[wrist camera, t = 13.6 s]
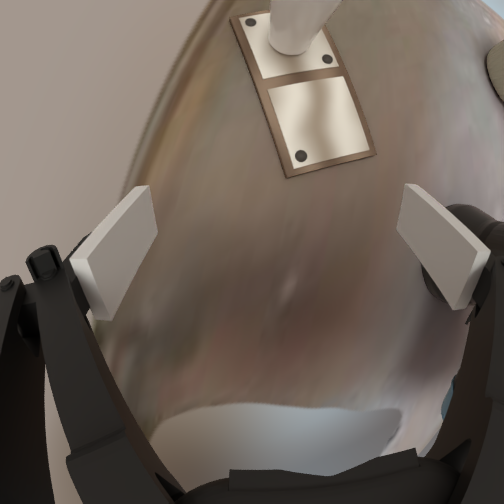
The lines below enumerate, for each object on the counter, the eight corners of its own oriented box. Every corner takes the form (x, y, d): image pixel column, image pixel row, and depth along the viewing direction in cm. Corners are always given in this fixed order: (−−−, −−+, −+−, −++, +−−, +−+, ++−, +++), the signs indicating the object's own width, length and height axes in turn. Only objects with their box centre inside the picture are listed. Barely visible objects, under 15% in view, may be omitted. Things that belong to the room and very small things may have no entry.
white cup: (325, 51, 29) (370, -16, 15) (280, 69, 30) (307, -4, 15) (296, 15, 28) (323, -59, 13) (251, 31, 28) (259, -49, 14)
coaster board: (313, 9, 29) (315, 3, 28) (373, 155, 33) (378, 154, 32) (229, 20, 29) (229, 15, 28) (285, 178, 33) (288, 177, 32)
